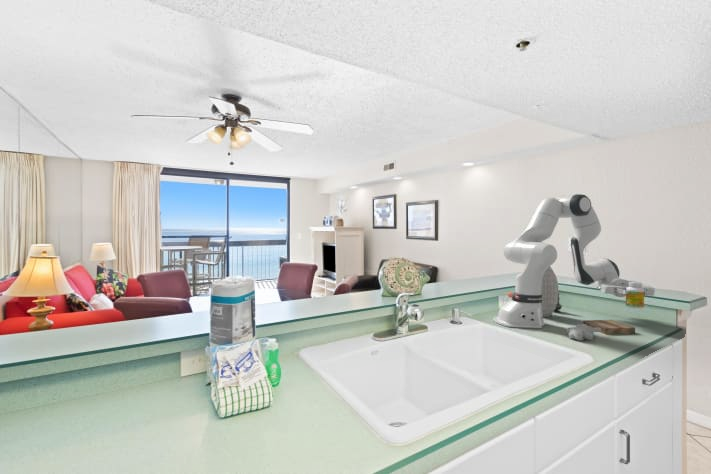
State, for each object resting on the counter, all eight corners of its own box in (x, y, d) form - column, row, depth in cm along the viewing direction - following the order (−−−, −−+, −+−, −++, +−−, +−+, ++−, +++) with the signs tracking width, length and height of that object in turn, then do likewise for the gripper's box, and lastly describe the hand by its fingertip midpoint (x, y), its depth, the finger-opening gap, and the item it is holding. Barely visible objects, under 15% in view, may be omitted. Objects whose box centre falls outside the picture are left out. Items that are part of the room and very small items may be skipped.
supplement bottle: (627, 307, 146) (628, 282, 146) (623, 304, 152) (624, 280, 151) (645, 309, 143) (646, 284, 143) (641, 306, 149) (642, 281, 148)
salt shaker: (558, 310, 180) (559, 288, 179) (564, 313, 174) (564, 291, 173) (547, 310, 180) (547, 288, 180) (552, 312, 174) (553, 290, 174)
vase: (532, 317, 165) (533, 262, 164) (527, 311, 177) (528, 260, 176) (561, 319, 161) (562, 263, 160) (553, 313, 173) (554, 260, 172)
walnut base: (605, 334, 140) (605, 328, 140) (583, 325, 152) (583, 320, 152) (635, 333, 141) (635, 327, 141) (611, 325, 153) (611, 319, 153)
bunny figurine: (561, 327, 136) (580, 318, 143) (561, 339, 136) (580, 330, 144) (586, 334, 128) (605, 324, 135) (587, 346, 128) (605, 336, 135)
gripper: (595, 280, 162) (610, 285, 148) (642, 282, 157) (663, 287, 144) (594, 292, 162) (610, 298, 148) (642, 295, 158) (662, 301, 144)
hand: (636, 293), depth 146 cm, fingers closed on supplement bottle, 6 cm apart
